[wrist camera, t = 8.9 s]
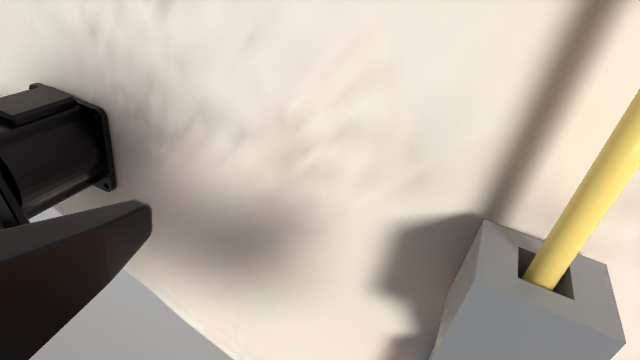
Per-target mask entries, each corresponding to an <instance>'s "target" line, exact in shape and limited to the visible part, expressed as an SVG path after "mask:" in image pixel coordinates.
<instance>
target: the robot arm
mask: <svg viewBox="0 0 640 360" xmlns="http://www.w3.org/2000/svg"><path fill="white" fill-rule="evenodd" d="M92 185H94V186H96V187H98V188H100V189H102V190H105V191H107V192H111V191H113V190H115V189H116V181H115V174H114V167H113V159H112V152H111V145H110V137H109V130H108V123H107V116H106V113H105V112H104V110H103V109H101V108H100V107H97V106H95V105H92V104H90V103H87V102H85V101H82V100H80V99H77V98H75V97H73V96H71V95H68V94H66V93H63V92H61V91H58V90H56V89H53V88H51V87H48V86H45V85H42V84H40V83H34V84H31V85H30V86H29V90H27V91H23V92H20V93H16V94H12V95H9V96H5V97H2V98H0V360H29V359H30V358H31V357H32V356H33V355H34V354H35V353H36V352H37V351H38V350H39V349H40V348H41V347H42V346H43V345H45V344H46V343H47V342H48V341H49V340H50V339H51V338H52V337H53V336H54V335H55V334H56V333H57V332H58V331H59V330H60V329H61V328H63V327H64V325H66V324H67V323H68V322H69V321H70V320H71V319H72V318H73V317H74V316H75V315H76V314H77V313H78V312H79V311H80V310H81V309H83V308H84V307H85V306H86V305H87V304H88V303H89V302H90V301H91V300H92V299H93V298H94V297H95V296H96V295H97V294H98V293H99V292H100V291H101V290H102V289H103V288H105V287H106V286H107V285H108V283H110V281H111V280H112V279H113V278H114V277H115V276H116V275H117V274H118V273H119V271H120V270H121V269H122V268H123V267H124V266H125V265H126V263H127V262H128V261H129V260H130V259H131V258H132V256H133V255H134V254H135V253H136V252H137V251H138V250H139V248H140V247H141V246H142V245H143V244H144V243H145V241H146V240H147V239H148V238H149V236H150V235H151V232H152V210H151V207H150V206H149V205H148V204H146V203H144V202H142V201H139V200H131V201H126V202H122V203H117V204H113V205H109V206H104V207H100V208H95V209H91V210H87V211H82V212H78V213H73V214H69V215H65V216H60V217H56V218H51V219H47V220H42V221H38V222H34V223H30V222H29V220H28V219H30V218H32V217H34V216H36V215H37V214H39V213H41V212H43V211H45V210H47V209H49V208H50V207H52V206H54V205H56V204H58V203H60V202H62V201H64V200H65V199H67V198H69V197H71V196H73V195H75V194H77V193H78V192H80V191H82V190H84V189H86V188H88V187H90V186H92Z"/></svg>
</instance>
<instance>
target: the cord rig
mask: <svg viewBox="0 0 640 360" xmlns="http://www.w3.org/2000/svg"><path fill="white" fill-rule="evenodd" d="M639 165H640V89H639V91H638V92H637V94H636V95H635V97H634V99H633V100H632V102H631V103H630V105H629V107H628V108H627V110H626V112H625V113H624V115H623V116H622V118H621V120H620V121H619V123H618V124H617V126H616V128H615V129H614V131H613V132H612V134H611V136H610V137H609V139H608V140H607V142H606V144H605V145H604V147H603V148H602V150H601V152H600V153H599V155H598V156H597V158H596V160H595V161H594V163H593V164H592V166H591V168H590V169H589V171H588V172H587V174H586V176H585V177H584V179H583V180H582V182H581V184H580V185H579V187H578V189H577V190H576V192H575V193H574V195H573V197H572V198H571V200H570V201H569V203H568V205H567V206H566V208H565V209H564V211H563V213H562V214H561V216H560V217H559V219H558V221H557V222H556V224H555V225H554V227H553V229H552V230H551V232H550V233H549V235H548V237H547V238H546V240H545V241H544V243H543V245H542V246H541V248H540V249H539V251H538V253H537V254H536V256H535V257H534V259H533V261H532V262H531V264H530V266H529V267H528V269H527V270H526V272H525V274H524V275H523V277H522V278H521V279H522V280H525V281H527V282H530V283H532V284H535V285H537V286H540V287H542V288H545V289H547V290H550V291H552V290H553V288H554V287H555V286H556V284H557V283H558V281H559V280H560V278H561V277H562V276H563V274H564V273H565V271H566V270H567V268H568V267H569V266H570V264H571V263H572V261H573V260H574V258H575V257H576V256H577V254H578V253H579V251H580V250H581V248H582V247H583V245H584V244H585V243H586V241H587V240H588V238H589V237H590V235H591V234H592V233H593V231H594V230H595V228H596V227H597V225H598V224H599V223H600V221H601V220H602V218H603V217H604V215H605V214H606V213H607V211H608V210H609V208H610V207H611V205H612V204H613V203H614V201H615V200H616V198H617V197H618V195H619V194H620V193H621V191H622V190H623V188H624V187H625V185H626V184H627V183H628V181H629V180H630V178H631V177H632V175H633V174H634V173H635V171H636V170H637V168H638V167H639ZM434 348H435V347H434ZM433 352H434V349H433V351H432V353H431V354H430V356H429V358H428V360H432V357H433Z"/></svg>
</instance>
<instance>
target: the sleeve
mask: <svg viewBox="0 0 640 360" xmlns="http://www.w3.org/2000/svg"><path fill="white" fill-rule="evenodd" d="M543 243H544V241H542V240H539V239H536V238H534V237H531V236H528V235H525V234H523V233H520V232H517V231H515V230H512V229H509V228H507V227H504V226H501V225H499V224H496V223H493V222H491V221H488V220H485V219H484V221H483V223H482V225H481V227H480V229H479V231H478V233H477V235H476V237H475V239H474V241H473V243H472V245H471V247H470V249H469V251H468V253H467V255H466V257H465V259H464V261H463V263H462V265H461V267H460V269H459V271H458V273H457V275H456V277H455V279H454V281H453V283H452V285H451V287H450V289H449V291H448V293H447V296H446V301H445V305H444V309H443V314H442V318H441V322H440V326H439V331H438V335H437V339H436V344H435V348H434V352H433V357H432V360H610V359H611V358H612V357H613V356H614V355H615V354H616V353H617V352H618V351H619V350H620V349H621V348H622V347H623V346H624V345H625V343H626V340H625V336H624V332H623V328H622V324H621V320H620V316H619V312H618V309H617V305H616V301H615V297H614V293H613V289H612V285H611V281H610V277H609V273H608V270H607V266H606V264H603V263H601V262H598V261H595V260H593V259H590V258H587V257H585V256H582V255H579V254H577V256H576V257H575V258H574V260H573V261H572V263H571V264H570V266H569V267H568V268H567V270H566V271H565V273H564V274H563V276H562V277H561V278H560V280H559V281H558V283H557V284H556V286H555V287H554V288H553V290H552V291H550V290H547V289H545V288H542V287H540V286H537V285H535V284H532V283H530V282H527V281H525V280H522V279H521V278H522V277H523V275H524V274H525V272H526V270H527V269H528V267H529V266H530V264H531V262H532V261H533V259H534V257H535V256H536V254H537V253H538V251H539V249H540V248H541V246H542V245H543Z"/></svg>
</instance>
